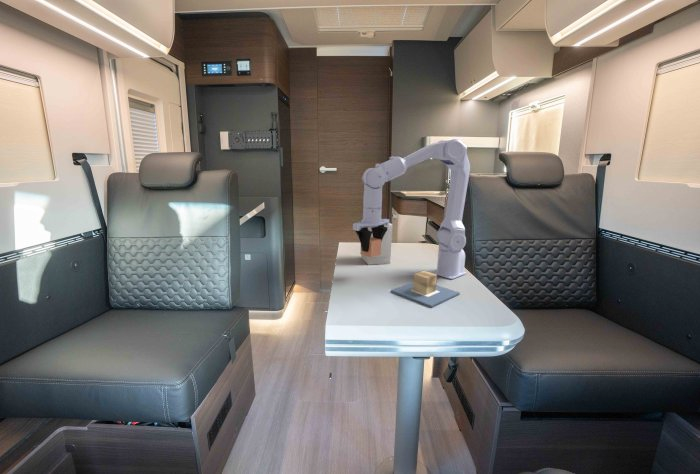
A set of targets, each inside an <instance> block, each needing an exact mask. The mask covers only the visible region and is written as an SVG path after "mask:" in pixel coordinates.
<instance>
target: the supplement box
mask: <svg viewBox="0 0 700 474" xmlns="http://www.w3.org/2000/svg"><path fill="white" fill-rule="evenodd" d="M384 227H387V231H386V233H385V235H384V237H383V239H382V242H381V255H378V256H374V257H368V256H365V255H361V254H360V259H361V260H363V261H364V262H365V263H366V264H367V265H368V266H370V265H386V264H387V265H388V264H389V265H390V264H391V259H392V258H391V257H392V242H393V241H392V239H393V223H390V222H389V225H388V226H386V225H384ZM368 230H369V231H372V229H371V228H368ZM371 237H373V234H371Z"/></svg>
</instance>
